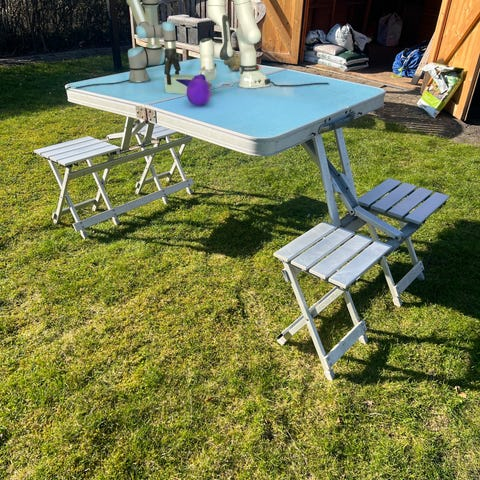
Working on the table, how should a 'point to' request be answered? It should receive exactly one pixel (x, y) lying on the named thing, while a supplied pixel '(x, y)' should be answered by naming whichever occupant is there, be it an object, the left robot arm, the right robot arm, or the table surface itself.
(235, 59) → the teapot
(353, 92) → the table surface
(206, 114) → the table surface
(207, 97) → the toy
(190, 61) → the table surface
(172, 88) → the cabinet
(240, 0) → the right robot arm
